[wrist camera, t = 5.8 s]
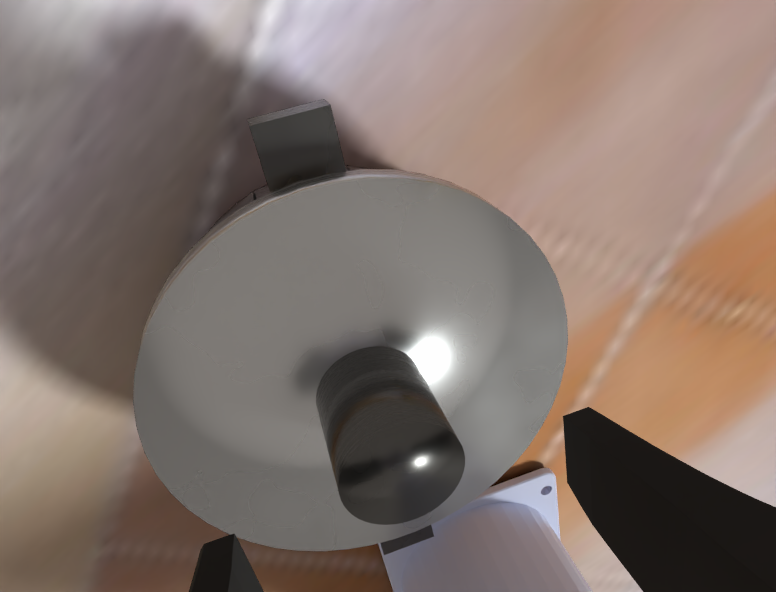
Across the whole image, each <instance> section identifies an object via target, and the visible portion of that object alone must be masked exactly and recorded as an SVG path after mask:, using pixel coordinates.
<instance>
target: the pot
mask: <svg viewBox="0 0 776 592" xmlns="http://www.w3.org/2000/svg"><path fill="white" fill-rule="evenodd" d="M247 120H248V123H249V127H250V130H251V133H252V136H253V139H254V142H255V146H256V149H257V152H258V155H259V158H260V162H261V165H262V168H263V171H264V174H265V178H266V181H267V184H268V185H266V186H264V187H262V188H260V189H257V190H255V191H254V192H251V193H250V194H249V195H248V196H247V197H245V198H244V199H242V200H241V201H239V202H238V203H236V204H235V205H234V206H233V207H232V208H231V209H230V210H229V211H227V212H226V213H225V214H224V215H223V216H222V217H221V218H220V219H219V220H218V221H217V222H216V223H215V224H214V226H213V227H212V228H214V227H215V226H216V225H218V224H219V223H221V222H222V221H223V220H225V219H226V218H227V217H229V216H230V215H231V214H233V213H234V212H235V211H237V210H238V209H240V208H242V207H244V206H245V205H247V204H249V203H251V202H253V201H254V200H256V199H258V198H260V197H262V196H263V195H265V194H267V193H270V192H272V191H275V190H277V189H280V188H282V187H285V186H287V185H290V184H292V183H295V182H297V181H301V180H305V179H309V178H313V177H316V176H320V175H324V174H328V173H334V172H343V171H351V170H359V169H367V168H356V167H351V166H348V165H347V167H345V164H344V160H343V156H342V151H341V147H340V143H339V139H338V135H337V131H336V126H335V122H334V118H333V114H332V110H331V106H330V104H329V103H328V102H327V101H326V100H325V99H322V100H318V101H315V102H311V103H307V104H303V105H299V106H295V107H292V108H288V109H284V110H280V111H276V112H272V113H268V114H265V115H261V116H257V117H253V118H249V119H247ZM212 228H211V229H212ZM211 229H210V230H211ZM210 230H209V231H210ZM431 537H434V534H433V530H432V526H431V525H429V526H427V527H425V528H422V529H420V530H418V531H416V532H413V533H410V534H407V535H404V536H402V537H399V538H396V539H393V540H389V541H385V542H382V543H380V544H381V547H382V550H383V553H384V555H386V554H389V553H392V552H394V551H397V550H400V549H402V548H405V547H408V546H410V545H413V544H416V543H418V542H421V541H423V540H426V539H429V538H431Z"/></svg>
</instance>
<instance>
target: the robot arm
mask: <svg viewBox="0 0 776 592" xmlns="http://www.w3.org/2000/svg"><path fill="white" fill-rule="evenodd" d="M563 421H564V437H565V453H566V469H567V483H568V484H569V486H570V488H571V489H572V491H573V493H574V495H575V496H576V498H577V500H578V502H579V503H580V505H581V507H582V508H583V510H584V512H585V513H586V515H587V516H588V518H589V520H590V521H591V523H592V525H593V526H594V527H595V529H596V530H597V531H598V533H599V534H600V535H601V537H602V538H603V539H604V541H605V542H606V543H607V545H608V546H609V547H610V549H611V550H612V551H613V553H614V554H615V555H616V557H617V558H618V559H619V560H620V562H621V563H622V564H623V566H624V567H625V568H626V570H627V571H628V572H629V573H630V575H631V576H632V577H633V579H634V580H635V581H636V583H637V584H638V585H639V587H640V588H641V589H642V590H643V592H776V507H773V506H771V505H769V504H766V503H764V502H762V501H759V500H757V499H755V498H753V497H751V496H748V495H746V494H744V493H742V492H740V491H738V490H736V489H734V488H732V487H730V486H728V485H726V484H724V483H722V482H720V481H718V480H716V479H714V478H712V477H710V476H708V475H706V474H704V473H702V472H700V471H698V470H697V469H695V468H693V467H691V466H689V465H687V464H686V463H684V462H682V461H680V460H678V459H677V458H675V457H673V456H671V455H669V454H668V453H666V452H664V451H662V450H660V449H659V448H657V447H655V446H654V445H652V444H650V443H648V442H647V441H645V440H643V439H642V438H640V437H638V436H637V435H635V434H633V433H631V432H630V431H628V430H626V429H625V428H623V427H621V426H620V425H618V424H617V423H615V422H613V421H612V420H610V419H608V418H607V417H605V416H603V415H602V414H600V413H598V412H597V411H595V410H593V409H591V408H590V407H587V408H585V409H582V410H579V411H576V412H573V413H571V414H568V415H565V416H563ZM431 526H432V530H433V534H434V537H431V538H429V539H426V540H423V541H421V542H418V543H416V544H413V545H410V546H408V547H405V548H402V549H400V550H397V551H394V552H392V553H389V554H386V555H384V553H383V550H382V547H381V544H380V543H378V545H379V548H380V551H381V554H382V558H383V561H384V564H385V567H386V570H387V573H388V576H389V580H390V583H391V586H392V589H393V592H593V591H592V590H591V588H590V586H589V585H588V583H587V582H586V580H585V579H584V577H583V576H582V574H581V572H580V571H579V569H578V568H577V566H576V565H575V563H574V562H573V560H572V558H571V557H570V555H569V554H568V552H567V551H566V549H565V547H564V546H563V544H562V543H561V541H560V529H559V515H558V502H557V488H556V477H555V475H554V473H553V472H552V470H550V469H549V468H541V469H538V470H535V471H532V472H530V473H527V474H524V475H522V476H519V477H516V478H513V479H511V480H508V481H505V482H503V483H500V484H497V485H494V486H492V487H489V488H488V489H486V490H485V491H484V492H483V493H482V494H480V495H479V496H478V497H476V498H475V499H473V500H472V501H471V502H469V503H468V504H466V505H465V506H463V507H462V508H460V509H459V510H457V511H455V512H454V513H452V514H450V515H448V516H447V517H445V518H443V519H441V520H440V521H438V522H435V523H433V524H431ZM189 592H264V591H263V589H262V587H261V585H260V583H259V581H258V579H257V577H256V575H255V573H254V571H253V569H252V567H251V565H250V563H249V561H248V559H247V557H246V555H245V553H244V551H243V549H242V547H241V545H240V543H239V541H238V539H237V537H236V535H235V533H234V534H231V535H228V536H226V537H223V538H220V539H217V540H214V541H212V542H209V543H206V544H204V546H203V547H202V549H201V551H200V554H199V558H198V562H197V566H196V569H195V573H194V576H193V580H192V583H191V586H190V590H189Z"/></svg>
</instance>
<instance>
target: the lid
mask: <svg viewBox="0 0 776 592" xmlns="http://www.w3.org/2000/svg"><path fill="white" fill-rule="evenodd" d="M567 345H568V330H567V315H566V310H565V304H564V299H563V295H562V292H561V289H560V286H559V284H558V281H557V278H556V275H555V273H554V271H553V270H552V268H551V266H550V264H549V262H548V260H547V259H546V257H545V255H544V254H543V252H542V251H541V250H540V248H539V247H538V246H537V245H536V243H535V242H534V241H533V239H532V238H531V237H530V236H529V235H528V234H527V233H526V232H525V231H524V230H523V229H522V228H521V227H520V226H519V225H517V224H516V223H515V222H514V221H513V220H512V219H511V218H510V217H508V216H507V215H506V214H504V213H503V212H502V211H500V210H499V209H498V208H496V207H495V206H493V205H492V204H490V203H489V202H487V201H486V200H484V199H483V198H481V197H480V196H478V195H477V194H475V193H473V192H471V191H469V190H467V189H464V188H462V187H460V186H458V185H456V184H454V183H452V182H449V181H445V180H442V179H439V178H435V177H432V176H429V175H425V174H421V173H414V172H407V171H400V170H394V169H359V170H351V171H343V172H334V173H328V174H324V175H320V176H316V177H313V178H309V179H305V180H301V181H297V182H295V183H292V184H290V185H287V186H285V187H282V188H280V189H277V190H275V191H272V192H270V193H267V194H265V195H263V196H262V197H260V198H258V199H256V200H254V201H253V202H251V203H249V204H247V205H245V206H244V207H242V208H240V209H238V210H237V211H235V212H234V213H233V214H231V215H230V216H229V217H227V218H226V219H225V220H223V221H222V222H221V223H219V224H218V225H216V226H215V227H214V228H212V229H211V230H210V231H209V232H208V233H207V234H206V235H205V236H204V237H203V238H202V239H201V240H200V241H199V242H198V243H197V244H196V245H195V246H194V247H193V248H191V249H190V250H189V251H188V252H187V254H186V255H185V256H184V258H183V259H182V260H181V261H180V263H179V264H178V265H177V267H176V268H175V269H174V270H173V272H172V273H171V274H170V276H169V277H168V279H167V280H166V282H165V284H164V286H163V287H162V289H161V291H160V293H159V295H158V296H157V298H156V300H155V302H154V304H153V306H152V309H151V311H150V314H149V317H148V319H147V322H146V325H145V327H144V330H143V335H142V340H141V345H140V349H139V354H138V359H137V364H136V369H135V374H134V397H133V404H134V412H135V419H136V426H137V430H138V434H139V437H140V440H141V443H142V446H143V449H144V452H145V454H146V456H147V458H148V460H149V462H150V464H151V465H152V467H153V469H154V471H155V473H156V475H157V476H158V477H159V478H160V480H161V481H162V482H163V484H164V485H165V486H166V488H167V489H168V490H169V492H170V493H171V494H172V495H173V496H174V497H175V498H176V499H177V500H178V501H180V502H181V503H182V504H183V505H184V506H185V507H186V508H187V509H188V510H189V511H191V512H192V513H194V514H195V515H196V516H198V517H199V518H201V519H202V520H204V521H205V522H206V523H208V524H210V525H212V526H214V527H216V528H218V529H220V530H222V531H224V532H225V533H227V534H230V535H231V534H234V533H235V535H236V537H238V538H241V539H243V540H246V541H249V542H252V543H256V544H261V545H265V546H269V547H273V548H280V549H288V550H296V551H333V550H346V549H352V548H358V547H364V546H370V545H374V544H378V543H382V542H385V541H389V540H393V539H396V538H399V537H402V536H404V535H407V534H410V533H413V532H416V531H418V530H420V529H422V528H425V527H427V526H429V525H431V524H433V523H435V522H438V521H440V520H441V519H443V518H445V517H447V516H448V515H450V514H452V513H454V512H455V511H457V510H459V509H460V508H462V507H463V506H465V505H466V504H468V503H469V502H471V501H472V500H473V499H475V498H476V497H478V496H479V495H480V494H482V493H483V492H484V491H485V490H486V489H488V488H489V487H490V486H491V485H492V484H494V483H495V482H496V481H497V480H498V479H499V478H500V477H501V476H502V475H503V474H504V473H505V472H506V471H507V470H508V469H509V468H510V467H511V466H512V465H513V464H514V463H515V462H516V461H517V459H518V458H519V457H520V456H521V455H522V453H523V452H524V451H525V450H526V449H527V447H528V446H529V445H530V443H531V442H532V440H533V439H534V437H535V436H536V434H537V433H538V431H539V430H540V428H541V427H542V425H543V423H544V421H545V419H546V417H547V415H548V413H549V411H550V409H551V407H552V405H553V402H554V400H555V397H556V395H557V392H558V389H559V387H560V383H561V379H562V375H563V371H564V367H565V362H566V354H567Z"/></svg>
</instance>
